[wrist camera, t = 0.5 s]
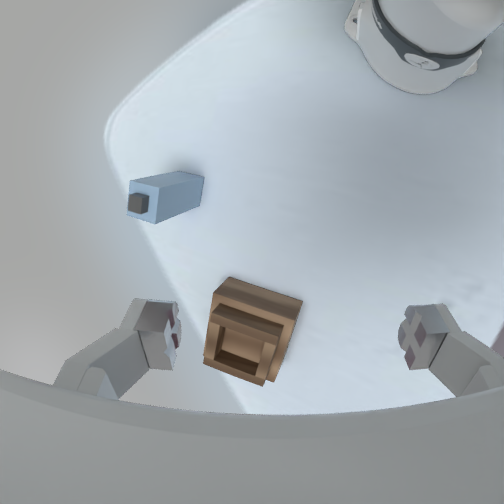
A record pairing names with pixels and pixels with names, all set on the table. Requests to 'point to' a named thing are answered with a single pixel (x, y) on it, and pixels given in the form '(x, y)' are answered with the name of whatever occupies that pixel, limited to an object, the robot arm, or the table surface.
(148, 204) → the plug block
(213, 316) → the socket block
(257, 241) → the table surface
